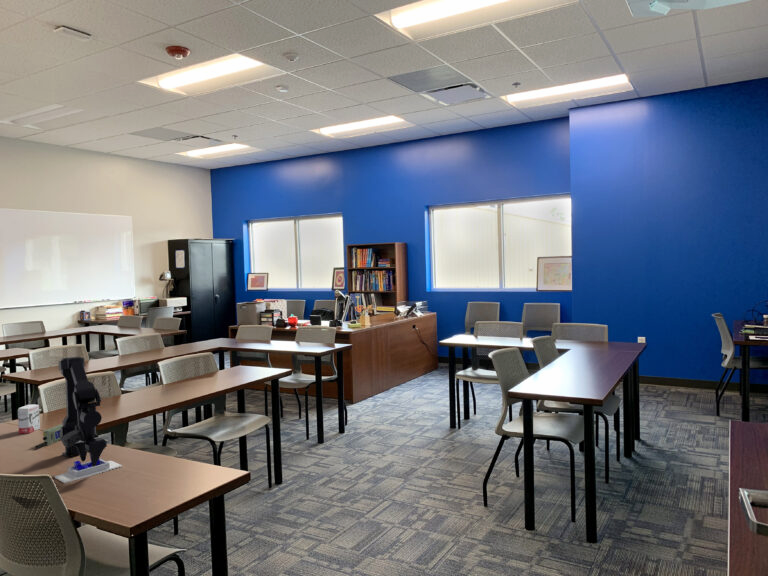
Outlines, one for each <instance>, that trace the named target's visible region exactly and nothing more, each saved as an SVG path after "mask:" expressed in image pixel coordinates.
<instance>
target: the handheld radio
mask: <svg viewBox="0 0 768 576" xmlns="http://www.w3.org/2000/svg"><path fill="white" fill-rule="evenodd" d="M61 427H62V423H60V424H57V425H55V426H52V427H50V428H46V429H45V430H42V436H43V438H42V440H43V442H42V443H39V444H36V445H35V446H34V449H40V448H41V447H44V446H51V445H53V444H55V443H57V441H58V442H60V441H61V440H60V430H61ZM59 440H60V441H59ZM54 442H55V443H54ZM52 443H53V444H52ZM50 444H51V445H50Z"/></svg>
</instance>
